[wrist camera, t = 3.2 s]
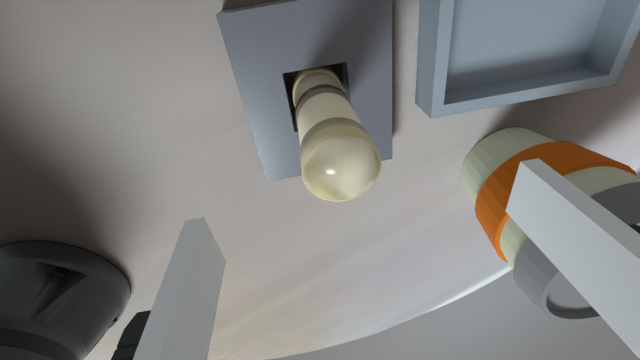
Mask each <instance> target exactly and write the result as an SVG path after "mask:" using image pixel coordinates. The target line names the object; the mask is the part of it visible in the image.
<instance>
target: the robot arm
mask: <svg viewBox="0 0 640 360" xmlns="http://www.w3.org/2000/svg"><path fill="white" fill-rule="evenodd" d="M506 213H507V214H508V215H509V216H510V217H511V218H512V219H513V220H514V221H515V222H516V224H517V225H518V226H519V227H520V228H521V229H522V230H523V231H524V232H525V233H526V235H527V236H528V237H529V238H530V239H531V240H532V241H533V242H534V243H535V244H536V246H537V247H538V248H539V249H540V250H541V251H542V252H543V253H544V254H545V255H546V257H547V258H548V259H549V260H550V261H551V262H552V263H553V264H554V265H555V266H556V268H557V269H558V270H559V271H560V272H561V273H562V274H563V275H564V276H565V277H566V278H567V280H568V281H569V282H570V283H571V284H572V285H573V286H574V287H575V288H576V289H577V291H578V292H579V293H580V294H581V295H582V296H583V297H584V298H585V299H586V300H587V302H588V303H589V304H590V305H591V306H592V307H593V308H594V309H595V310H596V311H597V313H598V314H599V315H600V316H601V317H602V318H603V319H604V320H605V321H606V322H607V324H608V325H609V326H610V327H611V328H612V329H613V330H614V331H615V332H616V333H617V335H619V337H620V338H621V339H622V340H623V341H624V342H625V343H626V344H627V345H628V347H629V348H630V349H631V350H632V351H633V352H634V353H635V354H636V355H637V356H638V357H639V359H640V226H638V225H636V224H632V225H627V224H626V223H624V222H623V221H622V220H620V219H619V218H618V217H616V216H615V215H614V214H612V213H611V212H610V211H608V210H607V209H606V208H604V207H603V206H602V205H600V204H599V203H598V202H596V201H595V200H594V199H592V198H591V197H590V196H588V195H587V194H586V193H584V192H583V191H582V190H580V189H579V188H578V187H576V186H575V185H574V184H572V183H571V182H570V181H568V180H567V179H566V178H564V177H563V176H562V175H560V174H559V173H558V172H556V171H555V170H554V169H552V168H551V167H550V166H548V165H547V164H546V163H544V162H543V161H542V160H540V159H539V158H538V159H532V160H526V161H521V162H520V164H519V167H518V171H517V174H516V177H515V181H514V184H513V187H512V191H511V194H510V198H509V201H508V204H507V208H506ZM225 262H226V260H225V258H224V256H223V254H222V252H221V250H220V248H219V247H218V245H217V243H216V241H215V239H214V237H213V235H212V233H211V231H210V229H209V227H208V225H207V223H206V221H205V219H204V217H203V218H197V219H192V220H186V221H185V223H184V225H183V228H182V231H181V233H180V236H179V239H178V241H177V244H176V247H175V249H174V252H173V254H172V257H171V260H170V262H169V265H168V268H167V270H166V273H165V276H164V278H163V281H162V284H161V286H160V289H159V291H158V294H157V297H156V299H155V302H154V305H153V307H152V310H150V311H144V312H138V313H137V314H136V315H135V316H134V317H133V319H132V320H131V321H130V322H129V324H128V325H127V326H126V328H125V329H124V331H123V333H122V336H121V338H120V340H119V343H118V345H117V350H115V352H114V354H113V356H112V359H111V360H207V356H208V351H209V346H210V340H211V335H212V330H213V325H214V319H215V314H216V309H217V304H218V298H219V293H220V288H221V283H222V277H223V272H224V267H225ZM129 298H130V286H129V283H128V281H127V279H126V278H125V276H124V275H123V274H122V273H121V271H120V270H118V269H117V268H116V267H115V266H114V265H112V264H111V263H110V262H108V261H107V260H105V259H103V258H101V257H99V256H97V255H95V254H93V253H91V252H88V251H86V250H83V249H80V248H77V247H73V246H69V245H65V244H59V243H53V242H41V241H29V242H18V243H13V244H8V245H5V246H2V247H0V360H83V359H84V358H85V357H86V356H87V355H88V354H89V352H90V351H91V350H92V349H93V348H94V347H95V345H96V344H97V343H98V342H99V341H100V339H101V338H102V337H103V336H104V334H105V333H106V332H107V330H108V329H109V328H110V327H112V326H113V325H114V324H115V323H116V322H117V321H118V319H119V318H120V317H121V315H122V313H123V311H124V309H125V307H126V305H127V302H128V300H129Z"/></svg>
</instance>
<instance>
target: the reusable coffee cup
mask: <svg viewBox="0 0 640 360" xmlns="http://www.w3.org/2000/svg"><path fill="white" fill-rule="evenodd" d="M538 158H539V159H540V160H542V161H543V162H544V163H546V164H547V165H548V166H550V167H551V168H552V169H554V170H555V171H556V172H558V173H559V174H560V175H562V176H563V177H564V178H566V179H567V180H568V181H570V182H571V183H572V184H574V185H575V186H576V187H578V188H579V189H580V190H582V191H583V192H584V193H586V194H587V195H588V196H590V197H591V198H592V199H594V200H595V201H596V202H598V203H599V204H600V205H602V206H603V207H604V208H606V209H607V210H608V211H610V212H611V213H612V214H614V215H615V216H616V217H618V218H619V219H620V220H622V221H623V222H624V223H626V224H627V225H632V224H636V225H638V226H640V177H638V176H637V175H636V173H635V171H634V170H632V169H631V168H630V167H629V166H627V165H625V164H622V163H620V162H617V161H615V160H613V159H610V158H608V157H605V156H603V155H601V154H598V153H596V152H593V151H591V150H588V149H586V148H584V147H581V146H579V145H576V144H574V143H571V142H565V141H555V140H552V139H550V138H548V137H545V136H543V135H541V134H538V133H536V132H534V131H531V130H529V129H526V128H522V127H510V128H506V129H502V130H499V131H497V132H494V133H492V134H490V135H489V136H487V137H485V138H484V139H482V140H481V141H480V142H479V143H477V144H476V145H475V146H474V147H473V148H472V149H471V151H470V152H469V153H468V155H467V156H466V158H465V160H464V162H463V164H462V167H461V170H460V179H461V183H462V185H463V187H464V188H465V190H466V192H467V193H468V195H469V197H470V198H471V200H472V202H473V204H474V205H475V212H476V217H477V218H478V220H479V222H480V224H481V225H482V227H483V229H484V231H485V232H486V234H487V236H488V238H489V239H490V241H491V243H492V245H493V246H494V248H495V250H496V252H497V253H498V255H499V257H501V258H502V259H503V260H504V261H506V262H508V263H509V264H510V266H511V268H512V269H513V276H514V280H515V282H516V284H517V285H518V286H519V287H520V288H521V290H522V291H523V292H524V293H525V294H526V295H527V296H528V297H529V298H530V299H531V300H532V301H533V302H534V304H535V305H536V306H537V307H538V308H539V309H540V310H541V311H542V312H543V313H544V314H545V315H546V316H548V317H549V318H551V319H554V320H557V321H563V322H581V321H588V320H594V319H599V318H602V317H601V316H600V315H599V314H598V313H597V311H596V310H595V309H594V308H593V307H592V306H591V305H590V304H589V303H588V302H587V300H586V299H585V298H584V297H583V296H582V295H581V294H580V293H579V292H578V291H577V289H576V288H575V287H574V286H573V285H572V284H571V283H570V282H569V281H568V280H567V278H566V277H565V276H564V275H563V274H562V273H561V272H560V271H559V270H558V269H557V268H556V266H555V265H554V264H553V263H552V262H551V261H550V260H549V259H548V258H547V257H546V255H545V254H544V253H543V252H542V251H541V250H540V249H539V248H538V247H537V246H536V244H535V243H534V242H533V241H532V240H531V239H530V238H529V237H528V236H527V235H526V233H525V232H524V231H523V230H522V229H521V228H520V227H519V226H518V225H517V224H516V222H515V221H514V220H513V219H512V218H511V217H510V216H509V215H508V214H507V213H506V208H507V204H508V201H509V198H510V194H511V191H512V187H513V184H514V181H515V177H516V174H517V171H518V167H519V164H520V162H521V161H526V160H532V159H538Z"/></svg>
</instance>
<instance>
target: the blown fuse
mask: <svg viewBox="0 0 640 360" xmlns="http://www.w3.org/2000/svg"><path fill="white" fill-rule="evenodd" d="M292 95H293V102H294V105H295V109H296V110H295V114H296V122H297V128H298V132H299V140H300V161H301V170H302V178H303V181H304V183H305V185H306V187H307V188H308V190H309V191H310V192H311V193H313V194H314V195H315V196H317V197H319V198H321V199H324V200H328V201H346V200H351V199H353V198H356V197H358V196H360V195H362V194H364V193H365V192H366V191H368V190H369V189H370V188H371V187H372V186H373V184H374V183H375V182H376V180H377V178H378V176H379V174H380V170H381V158H380V154H379V152H378V150H377V148H376V146H375V144H374V143H373V141H372V139H371V137H370V135H369V133H368V132H367V130H366V129H365V128H364V127H363V126H362V124H361V122H360V121H359V119H358V117H357V115H356V113H355V111H354V108H353V106H352V104H351V102H350V100H349V99H348V97H347V95H346V94H345V93H344V91H343V87H342V85H341V83H340V81H339V79H338V77H337V75H336V74H335V72H334V71H333V70H332V69H330V68H329V67H327V66H321V67H315V68H310V69H304V70H300V71H299V72H298V73H297V74H296V76H295V78H294V80H293V83H292Z"/></svg>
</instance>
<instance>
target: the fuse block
mask: <svg viewBox="0 0 640 360" xmlns="http://www.w3.org/2000/svg"><path fill="white" fill-rule="evenodd" d="M216 16H217V19H218V23H219V26H220V29H221V33H222V36H223V39H224V42H225V46H226V49H227V52H228V55H229V59H230V62H231V65H232V69H233V72H234V75H235V78H236V82H237V85H238V88H239V92H240V95H241V98H242V101H243V105H244V108H245V111H246V114H247V118H248V121H249V124H250V128H251V131H252V134H253V137H254V141H255V144H256V147H257V151H258V154H259V157H260V160H261V164H262V167H263V170H264V173H265V177H266V180H267V182H268V181H274V180H279V179H285V178H290V177H295V176H301V175H302V170H301V161H300V140H299V132H298V128H297V122H296V120H293V116H292V112H291V107H290V102H289V97H288V92H287V88H286V83H285V78H284V73H287V72H293V71H299V70H304V69H310V68H315V67H321V66H326V65H332V64H338V63H342V67H343V77H344V88H345V94H346V95H347V97H348V99H349V100H350V102H351V104H352V106H353V108H354V111H355V113H356V115H357V117H358V119H359V121H360V122H361V124H362V126H363V127H364V128H365V129H366V130H367V132H368V133H369V135H370V137H371V139H372V141H373V143H374V144H375V146H376V148H377V150H378V152H379V154H380V158H381V161H382V160H388V159H392V0H279V1H273V2H268V3H262V4H256V5H251V6H245V7H239V8H234V9H228V10H222V11H221V12H219V13H218V14H217V15H216Z"/></svg>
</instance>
